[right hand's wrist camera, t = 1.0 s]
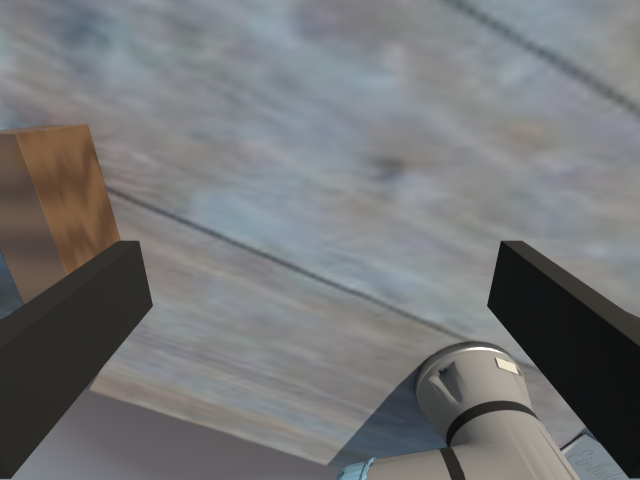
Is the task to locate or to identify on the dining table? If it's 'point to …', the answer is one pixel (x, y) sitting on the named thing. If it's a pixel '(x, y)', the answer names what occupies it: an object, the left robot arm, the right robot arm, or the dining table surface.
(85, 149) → the bar
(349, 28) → the dining table surface
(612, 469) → the grey wooden board
